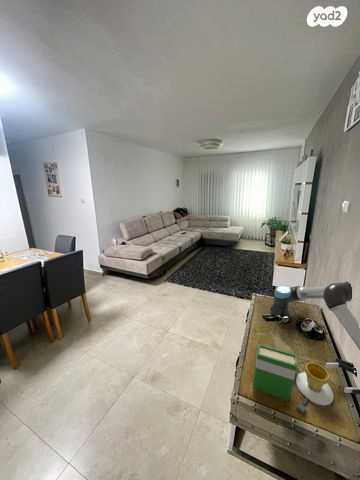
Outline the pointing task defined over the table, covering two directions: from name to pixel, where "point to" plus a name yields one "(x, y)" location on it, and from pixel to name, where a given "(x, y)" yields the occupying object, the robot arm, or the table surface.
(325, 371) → the plant pot
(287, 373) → the hardback book
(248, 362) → the table surface
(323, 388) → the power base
